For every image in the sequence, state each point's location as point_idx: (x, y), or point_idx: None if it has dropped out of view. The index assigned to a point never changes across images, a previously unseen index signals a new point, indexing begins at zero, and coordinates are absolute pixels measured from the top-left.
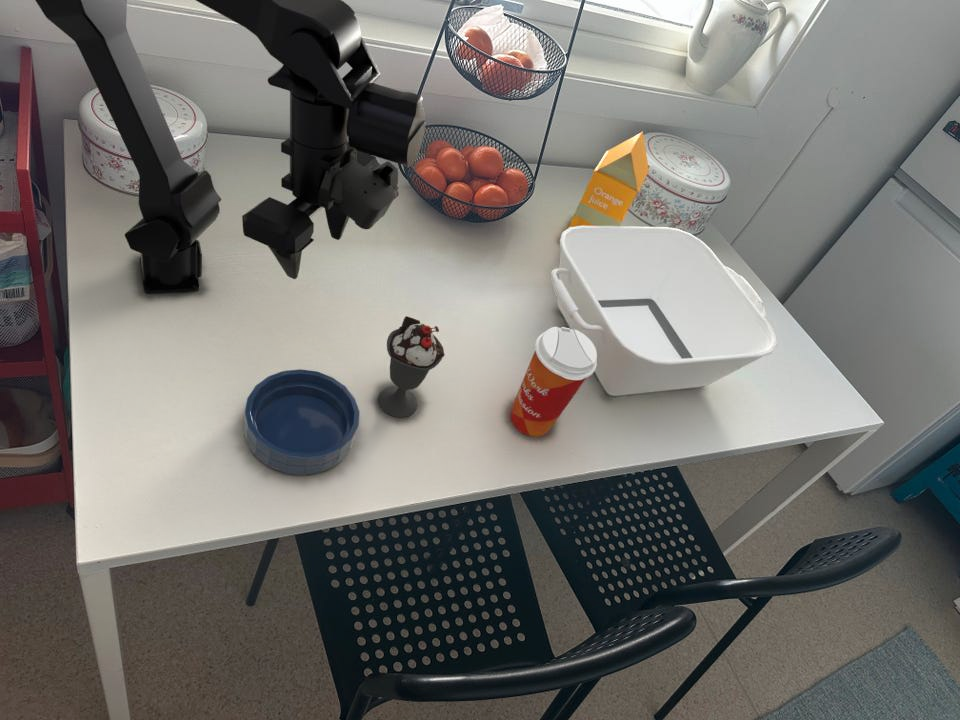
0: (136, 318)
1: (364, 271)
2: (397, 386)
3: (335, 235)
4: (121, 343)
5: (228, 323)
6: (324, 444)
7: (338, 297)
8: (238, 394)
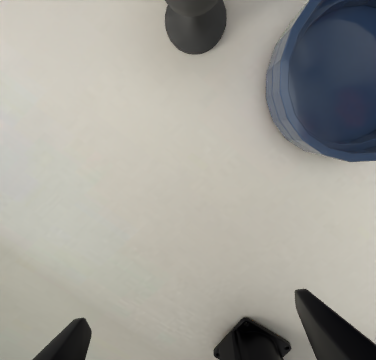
0: None
1: (56, 228)
2: (174, 41)
3: (81, 336)
4: (362, 309)
5: (257, 265)
6: (347, 31)
7: (118, 217)
8: (339, 180)
